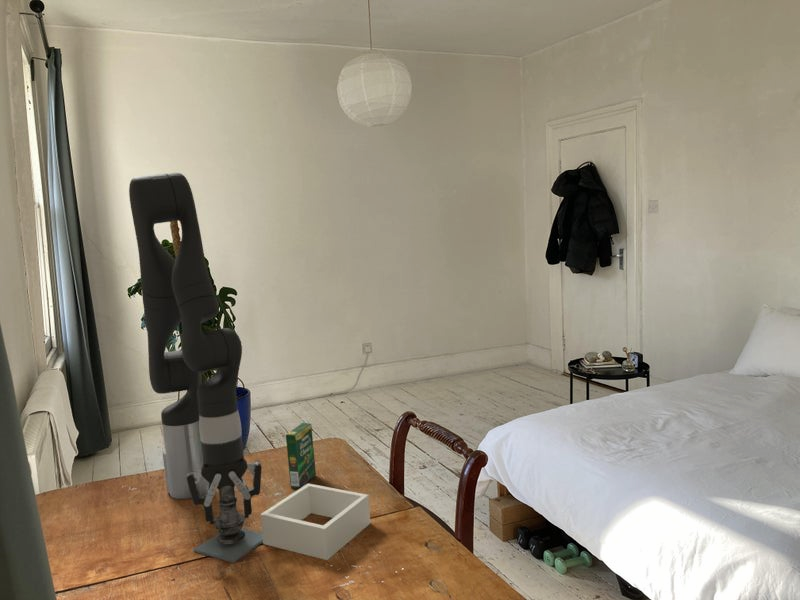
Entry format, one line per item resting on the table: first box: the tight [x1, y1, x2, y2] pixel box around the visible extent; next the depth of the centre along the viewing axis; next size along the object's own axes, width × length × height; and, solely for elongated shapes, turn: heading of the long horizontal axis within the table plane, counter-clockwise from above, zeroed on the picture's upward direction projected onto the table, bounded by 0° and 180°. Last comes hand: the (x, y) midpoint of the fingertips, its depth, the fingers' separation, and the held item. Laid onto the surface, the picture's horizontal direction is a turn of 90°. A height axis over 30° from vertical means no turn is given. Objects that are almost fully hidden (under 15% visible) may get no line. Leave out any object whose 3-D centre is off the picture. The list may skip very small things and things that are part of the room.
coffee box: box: [285, 422, 317, 489], centre depth 151 cm, size 8×3×13 cm, turn 159°
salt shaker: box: [213, 486, 246, 544], centre depth 123 cm, size 6×6×12 cm
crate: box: [260, 483, 371, 561], centre depth 126 cm, size 15×15×6 cm
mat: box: [193, 527, 263, 564], centre depth 124 cm, size 10×10×1 cm
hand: (229, 519), depth 124 cm, fingers closed on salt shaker, 6 cm apart
